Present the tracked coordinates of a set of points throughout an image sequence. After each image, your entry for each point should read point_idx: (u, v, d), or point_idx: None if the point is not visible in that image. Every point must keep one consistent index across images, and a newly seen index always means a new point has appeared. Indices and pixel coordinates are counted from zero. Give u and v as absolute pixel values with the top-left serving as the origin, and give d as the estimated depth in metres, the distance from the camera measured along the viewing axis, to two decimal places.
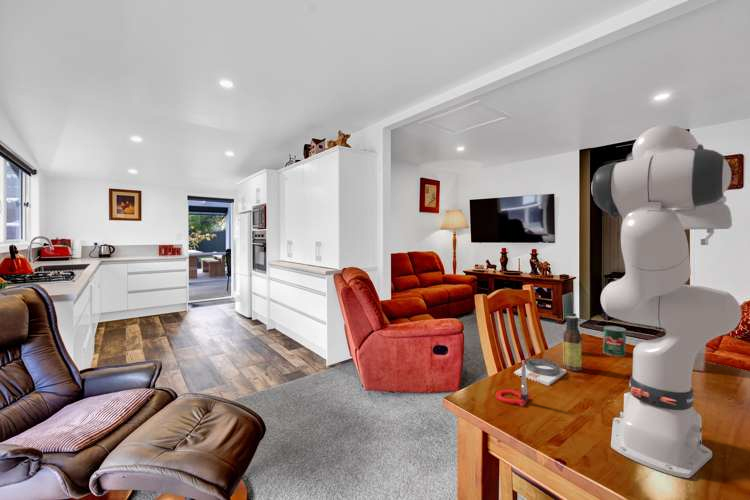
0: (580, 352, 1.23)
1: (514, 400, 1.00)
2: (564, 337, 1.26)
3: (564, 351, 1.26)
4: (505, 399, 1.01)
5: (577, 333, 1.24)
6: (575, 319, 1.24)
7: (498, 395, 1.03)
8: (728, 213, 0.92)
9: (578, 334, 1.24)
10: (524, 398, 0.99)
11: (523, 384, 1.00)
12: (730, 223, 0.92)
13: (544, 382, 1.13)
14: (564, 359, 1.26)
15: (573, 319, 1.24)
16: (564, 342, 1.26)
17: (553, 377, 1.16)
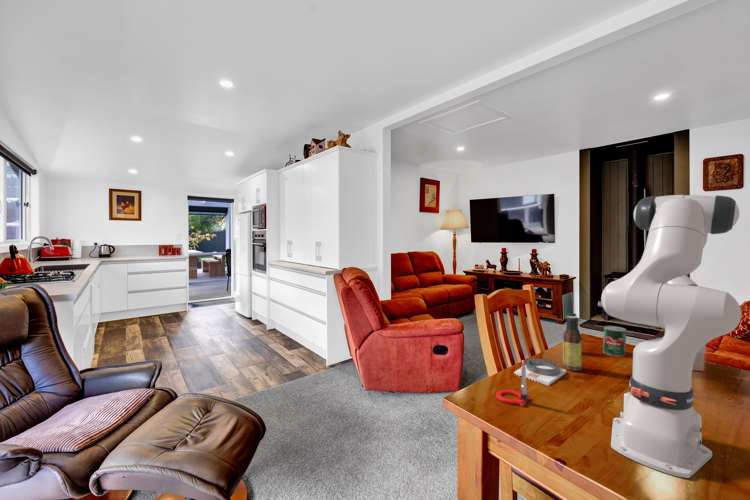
0: (580, 352, 1.23)
1: (514, 400, 1.00)
2: (564, 337, 1.26)
3: (564, 351, 1.26)
4: (505, 399, 1.01)
5: (577, 333, 1.24)
6: (575, 319, 1.24)
7: (498, 395, 1.03)
8: None
9: (578, 334, 1.24)
10: (524, 398, 0.99)
11: (523, 384, 1.00)
12: None
13: (544, 382, 1.13)
14: (564, 359, 1.26)
15: (573, 319, 1.24)
16: (564, 342, 1.26)
17: (553, 377, 1.16)
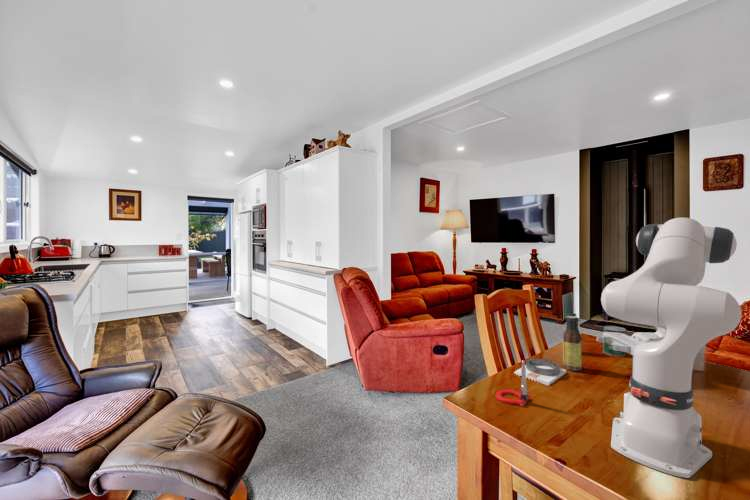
0: (580, 352, 1.23)
1: (514, 400, 1.00)
2: (564, 337, 1.26)
3: (564, 351, 1.26)
4: (505, 399, 1.00)
5: (577, 333, 1.24)
6: (575, 319, 1.24)
7: (498, 395, 1.03)
8: None
9: (578, 334, 1.24)
10: (524, 398, 0.99)
11: (523, 384, 1.00)
12: None
13: (544, 382, 1.13)
14: (564, 359, 1.26)
15: (573, 319, 1.24)
16: (564, 342, 1.26)
17: (553, 377, 1.16)
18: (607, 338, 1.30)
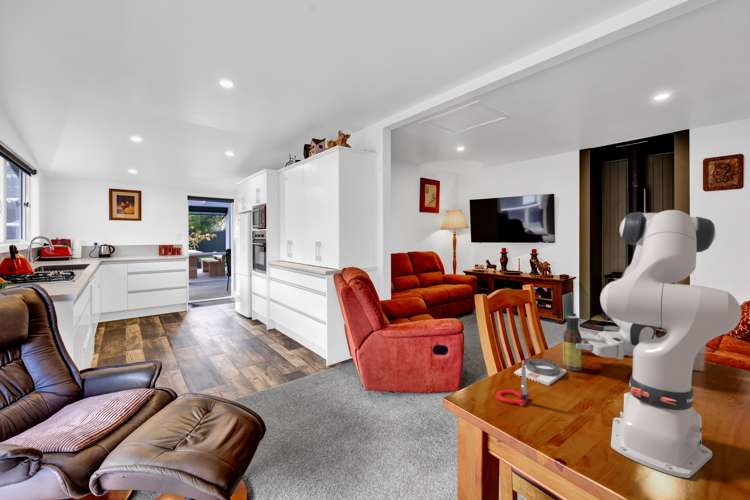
0: (580, 352, 1.23)
1: (514, 400, 1.00)
2: (564, 337, 1.26)
3: (564, 351, 1.26)
4: (505, 399, 1.00)
5: (578, 333, 1.24)
6: (575, 319, 1.24)
7: (498, 395, 1.03)
8: (610, 345, 1.16)
9: (578, 334, 1.24)
10: (524, 398, 0.99)
11: (523, 384, 1.00)
12: (602, 347, 1.16)
13: (544, 382, 1.13)
14: (564, 359, 1.26)
15: (573, 319, 1.24)
16: (564, 342, 1.26)
17: (553, 377, 1.16)
18: None
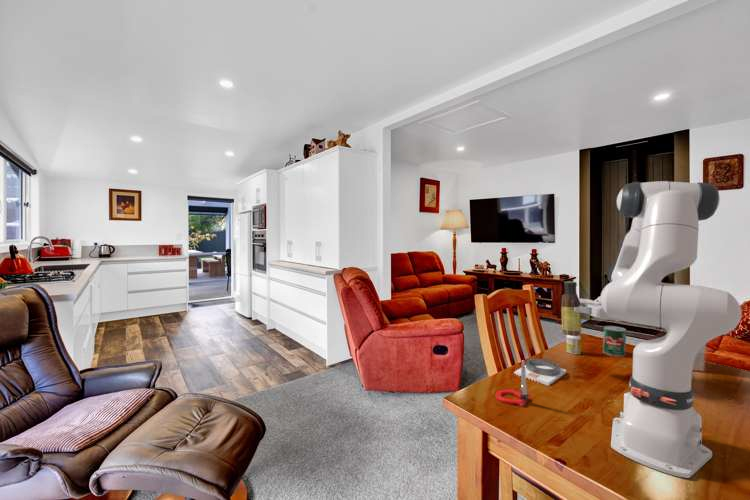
0: (579, 316, 1.22)
1: (514, 400, 1.00)
2: (562, 302, 1.25)
3: (563, 316, 1.25)
4: (505, 399, 1.00)
5: (576, 298, 1.23)
6: (573, 283, 1.23)
7: (498, 395, 1.03)
8: None
9: (576, 298, 1.23)
10: (524, 398, 0.99)
11: (523, 384, 1.00)
12: (601, 308, 1.14)
13: (544, 382, 1.13)
14: (563, 325, 1.25)
15: (571, 283, 1.23)
16: (563, 307, 1.25)
17: (553, 377, 1.16)
18: None
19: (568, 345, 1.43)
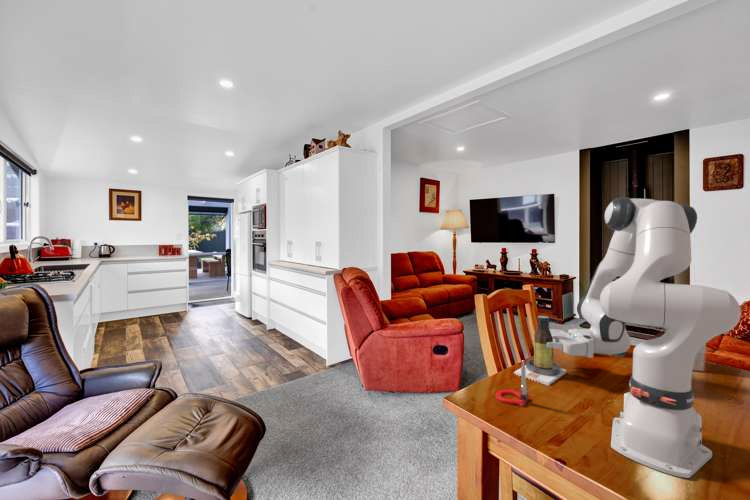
0: (551, 353, 1.19)
1: (514, 400, 1.00)
2: (535, 338, 1.22)
3: (535, 352, 1.22)
4: (505, 399, 1.00)
5: (548, 334, 1.20)
6: (546, 319, 1.20)
7: (498, 395, 1.03)
8: (579, 343, 1.12)
9: (549, 334, 1.20)
10: (524, 398, 0.99)
11: (523, 384, 1.00)
12: (571, 344, 1.12)
13: (544, 382, 1.13)
14: (535, 360, 1.22)
15: (544, 319, 1.20)
16: (535, 343, 1.22)
17: (553, 377, 1.16)
18: None
19: None
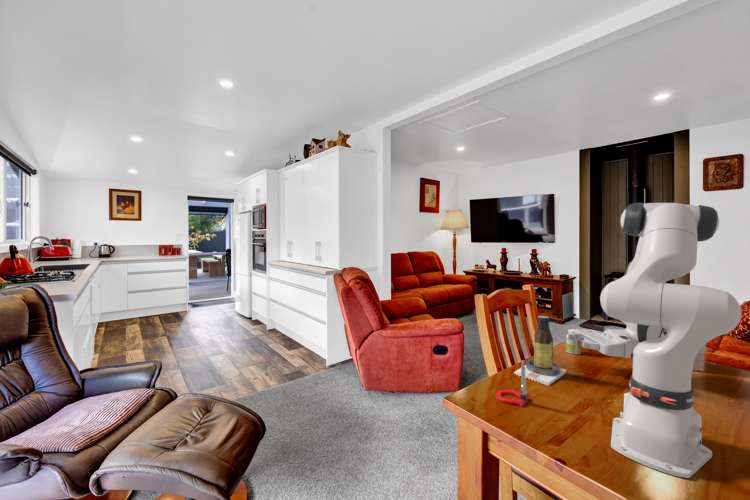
0: (551, 353, 1.19)
1: (514, 400, 1.00)
2: (535, 338, 1.22)
3: (535, 352, 1.22)
4: (505, 399, 1.00)
5: (548, 334, 1.20)
6: (546, 319, 1.20)
7: (498, 395, 1.03)
8: (617, 343, 1.11)
9: (549, 334, 1.20)
10: (524, 398, 0.99)
11: (523, 384, 1.00)
12: (609, 345, 1.11)
13: (544, 382, 1.13)
14: (535, 360, 1.22)
15: (544, 319, 1.20)
16: (535, 343, 1.22)
17: (553, 377, 1.16)
18: (578, 335, 1.26)
19: (568, 345, 1.43)
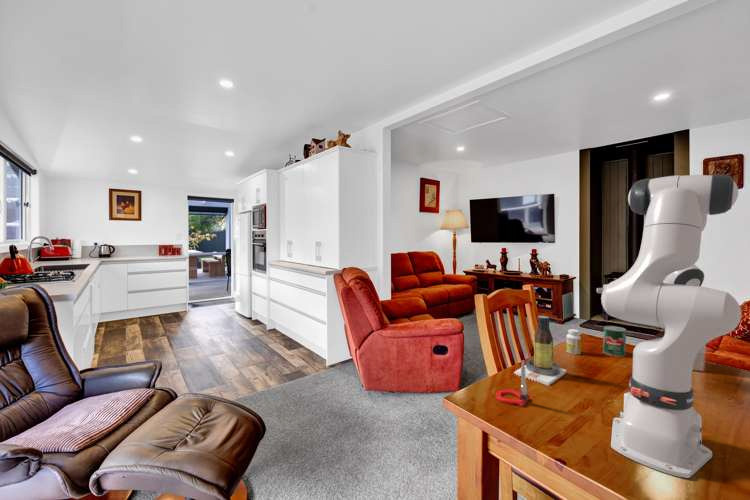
0: (551, 353, 1.19)
1: (514, 400, 1.00)
2: (535, 337, 1.22)
3: (535, 352, 1.22)
4: (505, 399, 1.00)
5: (548, 334, 1.20)
6: (546, 319, 1.20)
7: (498, 395, 1.03)
8: None
9: (549, 334, 1.20)
10: (524, 398, 0.99)
11: (523, 384, 1.00)
12: None
13: (544, 382, 1.13)
14: (535, 360, 1.22)
15: (544, 319, 1.20)
16: (535, 343, 1.22)
17: (553, 377, 1.16)
18: None
19: (568, 345, 1.43)
